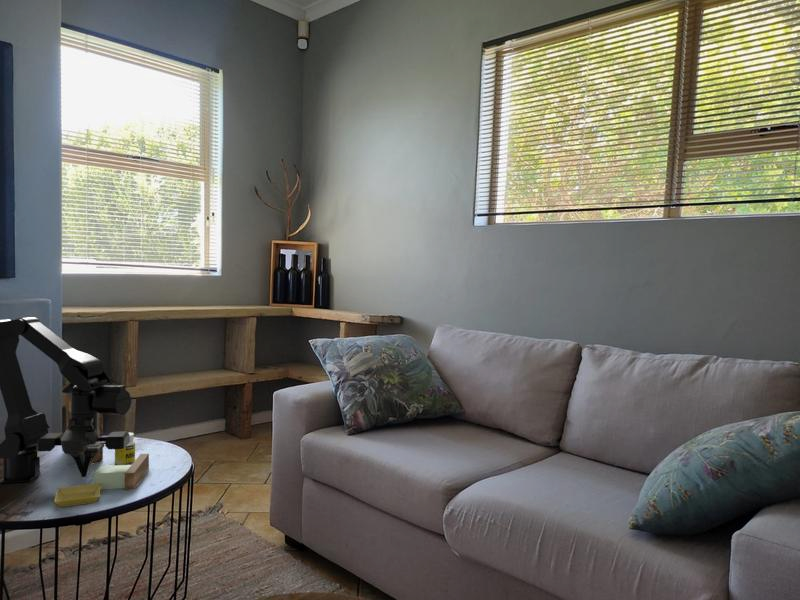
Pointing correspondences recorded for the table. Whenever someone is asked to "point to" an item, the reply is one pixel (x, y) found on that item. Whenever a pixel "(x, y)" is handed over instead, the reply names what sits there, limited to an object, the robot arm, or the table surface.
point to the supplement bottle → (126, 453)
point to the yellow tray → (77, 494)
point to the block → (111, 476)
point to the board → (136, 471)
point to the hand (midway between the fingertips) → (84, 476)
